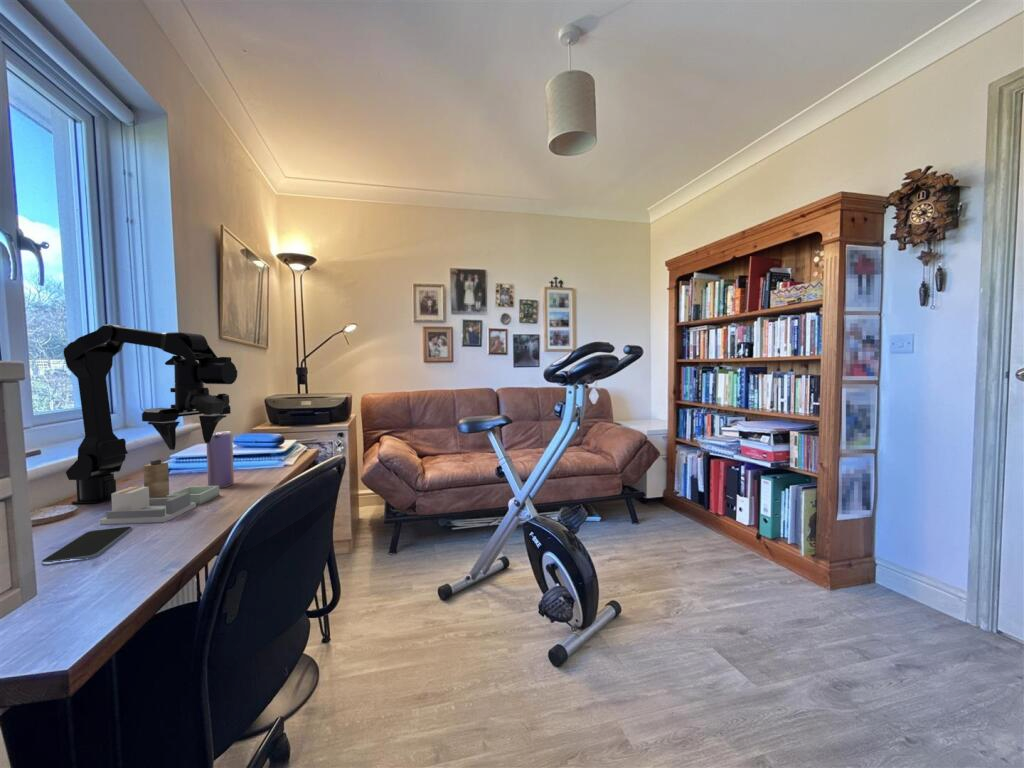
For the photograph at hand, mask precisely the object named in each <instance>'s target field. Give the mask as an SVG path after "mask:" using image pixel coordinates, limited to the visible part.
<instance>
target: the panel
mask: <svg viewBox="0 0 1024 768" xmlns="http://www.w3.org/2000/svg"><path fill="white" fill-rule="evenodd" d="M149 504H150V505H149V506H147V507H145V508H142V509H134V510H112V509H110V510H108V511H105V513H106V514H105V515H106V516H105V517H103V518H100V519H99V525H115V524H116V525H118V524H120V525H121V524H145V523H166V522H168V521H170V520H172V519H174V518H176V517H178V516H180V515H183V514H184V513H186V512H188V511H190V510H191V509H195V508H197V505H196V502H191V503H190V492H189V493H182V494H180V495H178V496H175V497H168V498H149Z"/></svg>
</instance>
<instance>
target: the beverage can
mask: <svg viewBox="0 0 1024 768" xmlns="http://www.w3.org/2000/svg"><path fill="white" fill-rule="evenodd" d="M233 443H234V442H233V435H232V431H230V430H229V431H228V430H226V431H225V430H224V431H222V430H221V431H214V432H213V435H212V438H211V440H210V442H209V443H205V444H206V464H207V465H206V468H207V472H206V473H207V486H219V489H222V488H228V487H231V486H232V485H234V483H235V481H234V480H235V479H234V478H235V475H234V474H235V473H234V472H235V471H234V451H233V450H234V449H233V447H234V446H233Z"/></svg>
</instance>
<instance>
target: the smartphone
mask: <svg viewBox="0 0 1024 768" xmlns="http://www.w3.org/2000/svg"><path fill="white" fill-rule="evenodd" d="M132 530H133V527H132V526H130V525H129V526H122V527H114V528H113V527H112V528H103V529H95V530H90V531H87V532H85V533H82V534H81V535H80V536H78V537H77V538H75V539H74V540H72V541H70V542H69V543H67V544H66V545H64V546H62V547H61V548H59V549H58V550H55V552H53V553H51V554H49V555H48V556H47V557H45V558H43V559H42V560H41V563H42V562H53V561H61V560H70V559H86V558H91V559H94V558H93V557H95V558H96V557H98V556H100V555H101V554H103V553H104V552H105V551H106V550H107V549H109V548H111V547H112V546H113V545H114V544H115V543H117V542H119V540H121V539H122V538H123V537H125V535H127V534H128V533H129V532H131V531H132Z"/></svg>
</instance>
